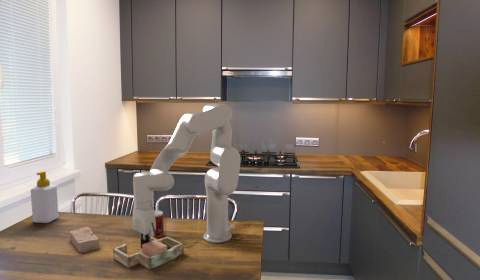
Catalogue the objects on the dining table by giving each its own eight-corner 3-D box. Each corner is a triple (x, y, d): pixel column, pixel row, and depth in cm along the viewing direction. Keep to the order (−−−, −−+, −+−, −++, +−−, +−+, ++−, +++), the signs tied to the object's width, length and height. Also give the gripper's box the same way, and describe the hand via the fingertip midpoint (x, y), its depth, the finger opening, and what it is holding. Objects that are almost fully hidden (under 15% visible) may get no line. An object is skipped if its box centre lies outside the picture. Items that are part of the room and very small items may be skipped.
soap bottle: (31, 222, 178) (27, 173, 174) (44, 216, 187) (40, 169, 183) (47, 223, 176) (44, 174, 173) (59, 217, 185) (56, 170, 182)
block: (155, 254, 145) (154, 239, 144) (167, 260, 139) (167, 245, 139) (142, 259, 140) (141, 244, 139) (154, 265, 135) (154, 250, 134)
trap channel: (157, 240, 157) (157, 232, 156) (185, 253, 145) (185, 244, 144) (112, 257, 141) (111, 248, 141) (139, 273, 129) (138, 263, 128)
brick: (100, 248, 150) (100, 237, 149) (79, 253, 145) (78, 242, 144) (89, 236, 163) (88, 226, 162) (69, 240, 158) (68, 230, 157)
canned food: (159, 240, 157) (159, 216, 156) (142, 238, 159) (142, 215, 158) (166, 233, 165) (166, 210, 163) (150, 232, 166) (149, 209, 165)
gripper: (125, 202, 144) (126, 245, 146) (146, 210, 134) (148, 256, 136) (141, 198, 149) (142, 239, 152) (163, 205, 140) (164, 250, 142)
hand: (145, 247), depth 144 cm, fingers closed
